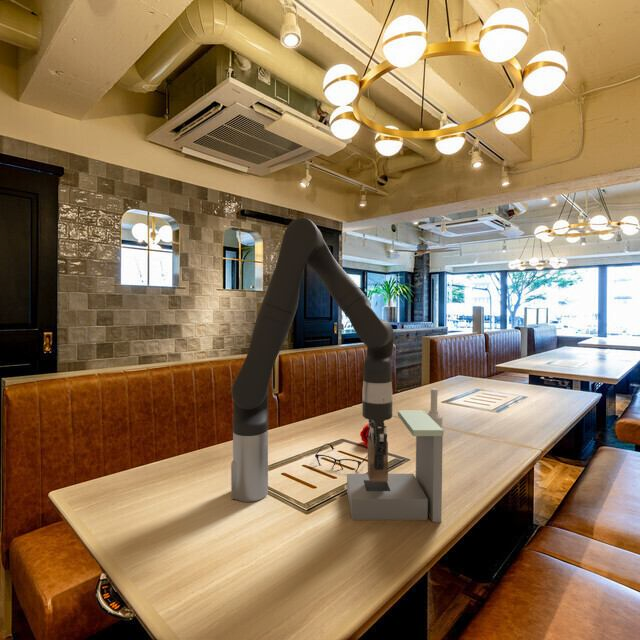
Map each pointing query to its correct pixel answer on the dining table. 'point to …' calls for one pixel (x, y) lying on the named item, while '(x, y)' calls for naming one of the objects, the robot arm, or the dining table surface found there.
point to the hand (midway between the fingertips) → (377, 464)
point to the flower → (365, 434)
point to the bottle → (435, 408)
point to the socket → (386, 498)
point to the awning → (427, 457)
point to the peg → (372, 473)
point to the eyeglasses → (336, 459)
